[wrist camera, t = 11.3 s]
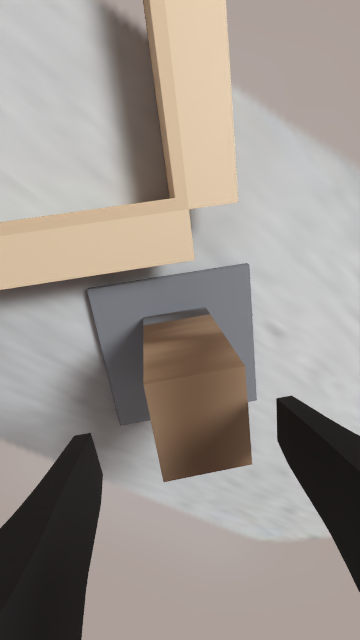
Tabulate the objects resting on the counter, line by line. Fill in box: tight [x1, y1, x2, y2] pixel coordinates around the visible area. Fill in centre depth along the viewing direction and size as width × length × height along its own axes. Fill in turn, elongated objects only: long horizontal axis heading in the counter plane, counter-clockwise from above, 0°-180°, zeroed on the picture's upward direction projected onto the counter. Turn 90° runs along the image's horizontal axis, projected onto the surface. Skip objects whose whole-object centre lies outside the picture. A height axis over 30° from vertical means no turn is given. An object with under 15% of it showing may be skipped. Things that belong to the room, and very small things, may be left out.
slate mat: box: [87, 263, 257, 425], centre depth 20 cm, size 10×10×1 cm
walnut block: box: [143, 307, 252, 482], centre depth 16 cm, size 4×5×8 cm
